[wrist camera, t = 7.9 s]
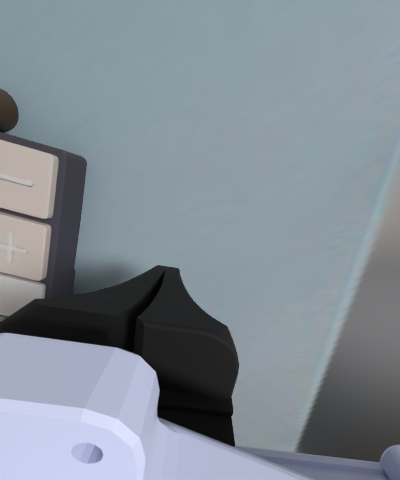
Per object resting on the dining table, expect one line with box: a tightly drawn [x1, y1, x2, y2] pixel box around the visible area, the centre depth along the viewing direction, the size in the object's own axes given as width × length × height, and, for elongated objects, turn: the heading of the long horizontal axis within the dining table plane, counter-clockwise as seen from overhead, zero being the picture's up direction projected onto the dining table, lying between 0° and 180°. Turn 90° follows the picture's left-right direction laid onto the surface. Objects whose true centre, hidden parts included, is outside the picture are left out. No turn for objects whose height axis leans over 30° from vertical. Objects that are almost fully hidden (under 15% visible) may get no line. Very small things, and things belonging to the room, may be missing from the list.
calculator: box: [0, 132, 87, 317], centre depth 16 cm, size 11×4×15 cm
